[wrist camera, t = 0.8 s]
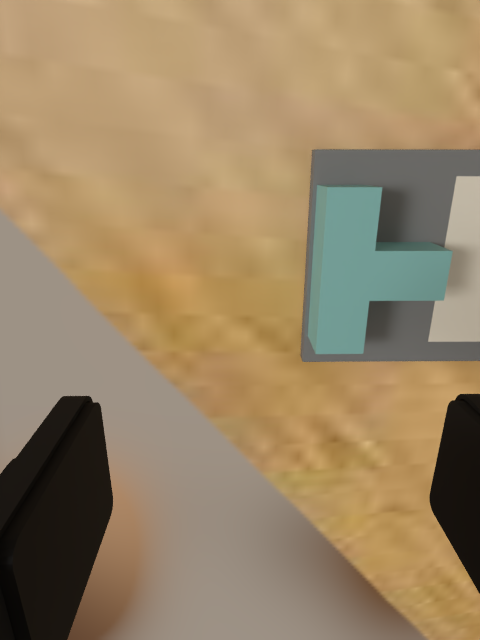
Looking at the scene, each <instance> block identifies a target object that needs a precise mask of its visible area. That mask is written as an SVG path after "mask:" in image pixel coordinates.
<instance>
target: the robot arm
mask: <svg viewBox="0 0 480 640" xmlns="http://www.w3.org/2000/svg"><path fill="white" fill-rule="evenodd" d="M430 505H431V508H432V511H433V513H434V515H435V517H436V518H437V520H438V522H439V524H440V525H441V527H442V529H443V531H444V532H445V534H446V536H447V538H448V539H449V541H450V543H451V545H452V546H453V548H454V550H455V552H456V553H457V555H458V557H459V559H460V560H461V562H462V564H463V566H464V567H465V569H466V571H467V572H468V574H469V576H470V578H471V579H472V581H473V583H474V585H475V586H476V588H477V590H478V592H479V593H480V394H460V395H458V396H457V398H456V399H455V401H451V402H450V403H449V405H448V408H447V413H446V418H445V423H444V428H443V433H442V437H441V442H440V447H439V452H438V457H437V462H436V467H435V472H434V476H433V481H432V486H431V491H430ZM112 507H113V495H112V488H111V480H110V473H109V465H108V457H107V450H106V442H105V435H104V427H103V420H102V412H101V406H100V404H99V403H93V401H92V399H91V397H89V396H63V397H62V398H61V399H60V400H59V401H58V402H57V404H56V405H55V407H54V408H53V409H52V410H51V412H50V413H49V415H48V416H47V417H46V418H45V420H44V421H43V422H42V424H41V425H40V426H39V428H38V429H37V431H36V432H35V433H34V435H33V436H32V437H31V439H30V440H29V442H28V443H27V444H26V445H25V447H24V448H23V449H22V451H21V452H20V453H19V455H18V456H17V457H16V458H15V459H13V460H12V461H11V462H10V463H9V464H8V465H7V466H6V468H5V469H4V470H3V472H2V473H1V474H0V640H67V639H68V636H69V633H70V630H71V627H72V624H73V621H74V619H75V615H76V613H77V610H78V607H79V604H80V602H81V599H82V596H83V593H84V590H85V587H86V585H87V582H88V579H89V576H90V573H91V570H92V568H93V565H94V561H95V559H96V556H97V553H98V550H99V547H100V545H101V542H102V539H103V536H104V533H105V530H106V528H107V525H108V522H109V519H110V516H111V513H112Z"/></svg>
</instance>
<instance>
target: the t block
mask: <svg viewBox="0 0 480 640" xmlns="http://www.w3.org/2000/svg"><path fill="white" fill-rule="evenodd" d="M381 195H382V187H377V186H370V185H317V196H316V212H315V228H314V244H313V260H312V276H311V292H310V308H309V324H308V337H309V340H310V342H311V344H312V347H313V349H314V351H315V354H363V352H364V343H365V334H366V326H367V317H368V308H369V301H444V297H445V292H446V286H447V280H448V275H449V269H450V264H451V258H452V253H453V251H452V250H449V249H446V248H444V247H441V246H439V245H436V244H434V243H431V242H376V238H377V230H378V221H379V212H380V204H381Z"/></svg>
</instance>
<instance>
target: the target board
mask: <svg viewBox="0 0 480 640" xmlns="http://www.w3.org/2000/svg"><path fill="white" fill-rule="evenodd" d="M317 185H370V186H377V187H382V195H381V204H380V212H379V221H378V230H377V238H376V242H431V243H434V244H436V245H439V246H441V247H444V248H446V249H449V250H452V251H453V253H452V258H451V264H450V269H449V275H448V280H447V286H446V292H445V297H444V301H369V308H368V317H367V326H366V334H365V343H364V352H363V354H315V351H314V349H313V347H312V344H311V342H310V340H309V337H308V324H309V308H310V292H311V276H312V260H313V244H314V228H315V212H316V196H317ZM301 358H302V361H303V362H336V361H480V150H312V164H311V181H310V199H309V216H308V234H307V252H306V269H305V287H304V304H303V322H302V340H301Z"/></svg>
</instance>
